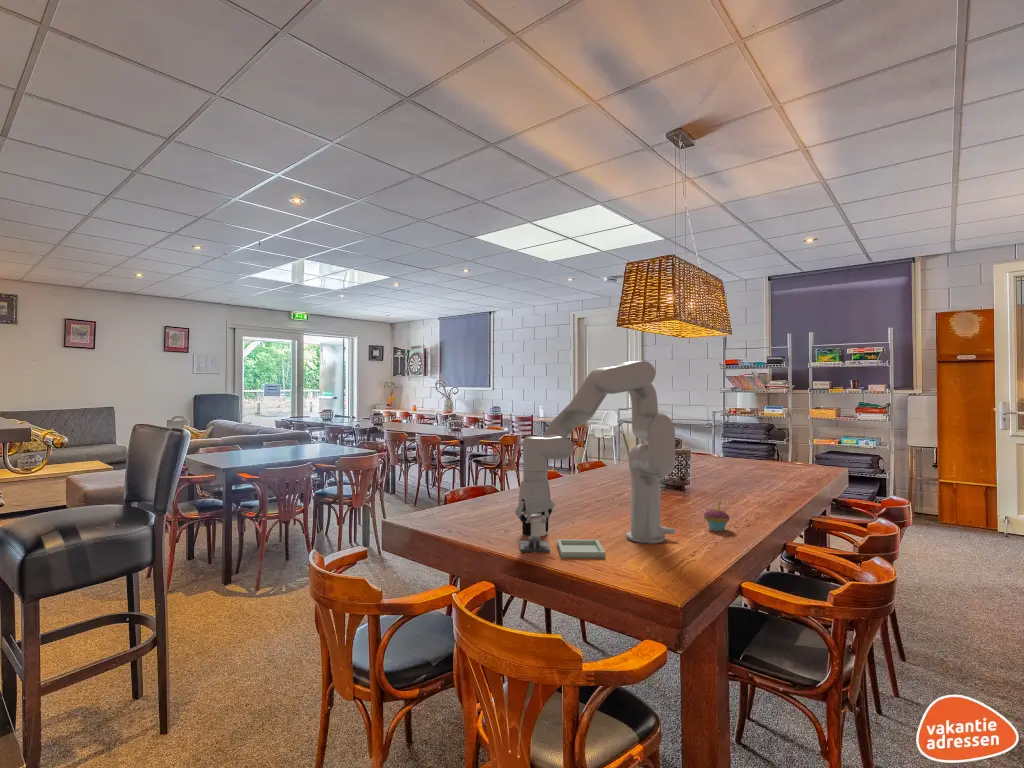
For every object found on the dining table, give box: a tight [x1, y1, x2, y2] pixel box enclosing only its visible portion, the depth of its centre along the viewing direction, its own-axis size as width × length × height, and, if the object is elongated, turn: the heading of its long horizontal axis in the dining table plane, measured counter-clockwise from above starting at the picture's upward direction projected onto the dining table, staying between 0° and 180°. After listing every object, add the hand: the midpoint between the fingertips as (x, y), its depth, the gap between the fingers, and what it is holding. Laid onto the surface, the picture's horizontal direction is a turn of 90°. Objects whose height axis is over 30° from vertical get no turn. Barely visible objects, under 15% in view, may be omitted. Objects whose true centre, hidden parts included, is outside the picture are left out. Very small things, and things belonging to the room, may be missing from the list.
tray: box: [556, 538, 606, 559], centre depth 158 cm, size 13×13×2 cm
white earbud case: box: [526, 514, 547, 537], centre depth 161 cm, size 7×8×5 cm
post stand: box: [519, 536, 551, 554], centre depth 161 cm, size 9×9×7 cm
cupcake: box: [703, 497, 730, 532], centre depth 185 cm, size 9×8×12 cm
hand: (535, 532), depth 161 cm, fingers closed on white earbud case, 6 cm apart
